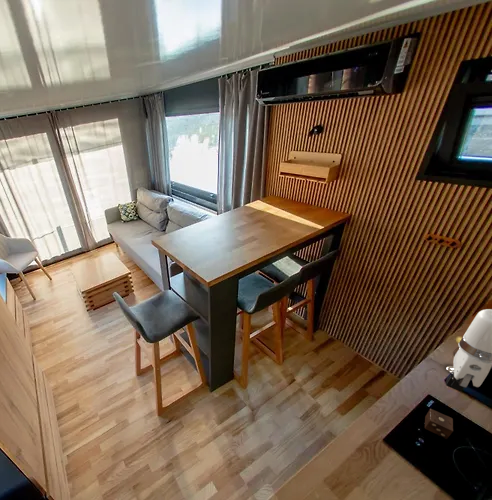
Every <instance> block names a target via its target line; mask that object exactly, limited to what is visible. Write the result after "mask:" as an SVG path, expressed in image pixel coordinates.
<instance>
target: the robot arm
mask: <svg viewBox="0 0 492 500" xmlns="http://www.w3.org/2000/svg"><path fill="white" fill-rule="evenodd" d="M457 347H459V348H460V349H459V350H458V351H457V353H456V355H455V357H454V358H453V360H452V361H453V364H452V366H454V370H453V372H452V373H451V374H450V375H449V376H448V378H447V379H446V380H445V386H447V387H448V388H450V389H453V390H456V391H458V392H462V391H463V390H464V388H465V389H466V388H467V387H468V385H469V383H470V382H471V381H472V386H473V387H475V388H479V387H481V385H482V384H483V382H484V381H485V379H486V378H487V376H488V375H489V373H490V371H491V369H492V308H485V309H482V310H480V311H478V312H477V314H476V315H475V317H473V320H472V321H471V323H470V324H469V326H468V327H467V329H466V331H465V333H464V334H463V335H462V337H461V339H460V340H459V342H458V345H457Z"/></svg>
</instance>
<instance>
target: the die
mask: <svg viewBox="0 0 492 500" xmlns="http://www.w3.org/2000/svg"><path fill="white" fill-rule="evenodd" d="M424 430H427V431H429V432H431V433H433V434H434V435H437V436H439V437H441V438H443V439H445V440H448V438H449V437H450V436H451V435H452V433H453V432H454V418H452V416H451V417H450V416H449V415H446V414H443V413H441V412H439V411H437V410H435V409H432V408H429V410H428V412H427V413H426V415H425V416H424Z"/></svg>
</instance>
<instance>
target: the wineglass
mask: <svg viewBox="0 0 492 500" xmlns="http://www.w3.org/2000/svg"><path fill="white" fill-rule="evenodd" d="M459 349H460V348H459V346H457V347H455V348H454V350H453V351H452V358H453V359H454V357H455V355H456V353H457V351H458V350H459ZM446 370H447V371H448V372H449V373H451V374H452V372H453V370H454V366H453V365H448V366H446Z"/></svg>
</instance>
